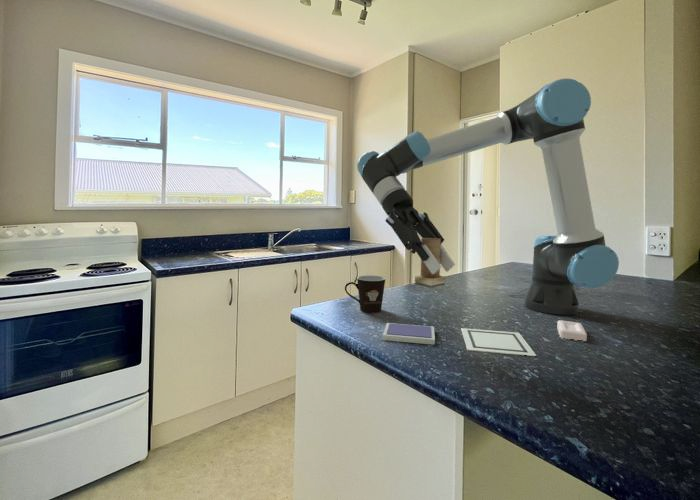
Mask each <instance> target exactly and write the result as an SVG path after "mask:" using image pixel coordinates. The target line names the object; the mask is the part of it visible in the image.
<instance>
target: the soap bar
mask: <svg viewBox="0 0 700 500" xmlns="http://www.w3.org/2000/svg"><path fill="white" fill-rule="evenodd" d="M556 328H557V332H558V335H560V336H559V338H560V337H561V339H563V338H565V340H570V339H574V340H573V341H577V340H583V341H586V342H587V339H588V338H587V337H588V334H587V332H586V330H585V327H584V326H583V324H582V323H580V322H575V321H568V320H562V319H561V320H557V324H556ZM583 341H582V342H583Z"/></svg>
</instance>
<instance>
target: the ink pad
mask: <svg viewBox="0 0 700 500" xmlns="http://www.w3.org/2000/svg"><path fill="white" fill-rule="evenodd" d="M382 341H390V342H401V343H403V342H404V343H413V344H424V345H433V346H434V345H435V344H436V336H435V326H431V325H430V326H428V325H418V324H406V323H405V324H404V323H395V322H393V323H392V322H386V324H385V327H384V330H383V333H382Z"/></svg>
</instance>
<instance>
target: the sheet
mask: <svg viewBox="0 0 700 500" xmlns="http://www.w3.org/2000/svg"><path fill="white" fill-rule="evenodd" d="M460 330H461V333H462V336H463V339H464V343H465V347H466V350H467V351H469V352H470V351H471V352H472V351H473V352H481V353H482V352H484V353H492V354H503V355H504V354H505V355H513V356H514V355H516V356H524V355H527V357H535V356H537V354H536V353H535V351H533V349H532V348H531V346H530V345H529V344H528V343H527V341H526V340H525V338H524V337H523V336H522V334H520V332H515V331H504V330H503V331H502V330H501V331H500V330H489V329H477V328H465V327H464V328H463V327H461V328H460Z"/></svg>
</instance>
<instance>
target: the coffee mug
mask: <svg viewBox="0 0 700 500" xmlns="http://www.w3.org/2000/svg"><path fill="white" fill-rule="evenodd" d="M385 284H386V277H384V276H380V275H372V274H370V275H369V274H367V275H366V274H365V275H360V276H357V278H356V282H353V281H350V282H348V283H346V284H345V286H344V291H345V293H346V294H347V295H348V296H349V297H350V298H352V299H353V300H355V301H357V302H358V304H359V309H360V310H359V311H360V312H363V313H365V314H377V313H380V312H381V311H382V305H383V300H384V299H383V298H384V290H385ZM350 285H354V286H355V288H356V289H357V290H358V298H357V297H355V296H353V295H352V294H350V293H349V292H348V290H347V287H348V286H350Z"/></svg>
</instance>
